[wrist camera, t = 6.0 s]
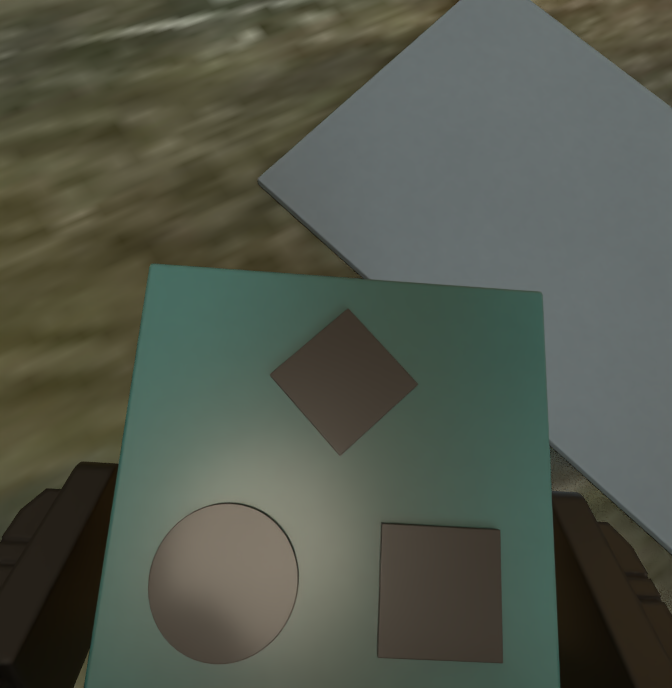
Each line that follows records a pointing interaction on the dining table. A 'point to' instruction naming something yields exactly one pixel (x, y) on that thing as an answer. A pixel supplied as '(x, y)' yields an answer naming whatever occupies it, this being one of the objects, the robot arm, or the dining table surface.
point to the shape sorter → (331, 489)
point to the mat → (520, 216)
